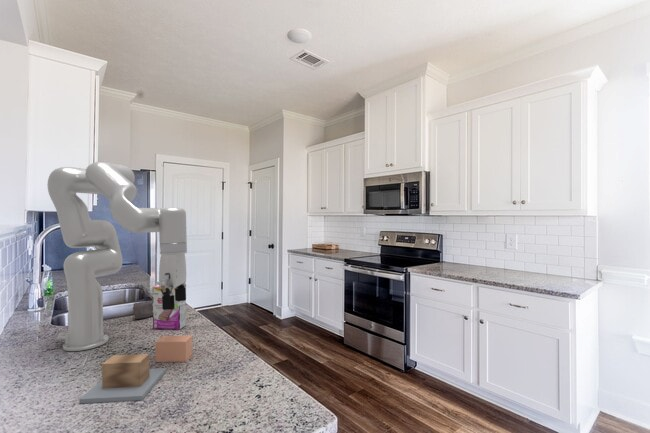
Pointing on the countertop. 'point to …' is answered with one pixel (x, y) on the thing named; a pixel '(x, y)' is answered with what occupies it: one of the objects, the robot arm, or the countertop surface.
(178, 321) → the candy bar box
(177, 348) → the terracotta brick
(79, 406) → the countertop surface
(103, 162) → the robot arm
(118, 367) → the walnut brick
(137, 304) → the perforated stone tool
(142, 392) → the baseplate
